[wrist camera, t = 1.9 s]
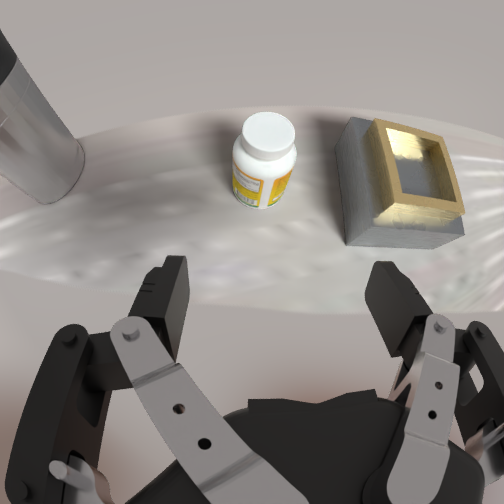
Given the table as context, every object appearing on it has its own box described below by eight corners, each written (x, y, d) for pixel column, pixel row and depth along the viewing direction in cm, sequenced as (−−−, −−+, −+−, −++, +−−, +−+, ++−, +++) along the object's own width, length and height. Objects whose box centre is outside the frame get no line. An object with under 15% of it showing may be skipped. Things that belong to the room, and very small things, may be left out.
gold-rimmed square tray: (345, 245, 27) (382, 218, 20) (334, 148, 30) (357, 104, 22) (432, 249, 28) (476, 229, 20) (415, 162, 31) (447, 129, 23)
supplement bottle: (235, 213, 28) (234, 161, 18) (230, 167, 29) (229, 106, 19) (288, 208, 28) (310, 157, 19) (280, 164, 29) (296, 104, 20)
